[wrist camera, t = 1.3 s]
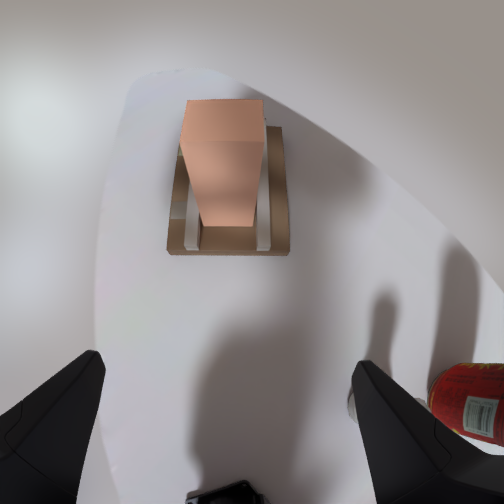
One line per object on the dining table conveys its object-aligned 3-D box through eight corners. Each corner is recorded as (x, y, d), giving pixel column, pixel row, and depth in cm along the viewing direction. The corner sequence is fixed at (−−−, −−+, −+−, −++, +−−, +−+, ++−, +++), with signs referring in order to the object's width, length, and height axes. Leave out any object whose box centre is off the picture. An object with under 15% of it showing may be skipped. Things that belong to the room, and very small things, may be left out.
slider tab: (252, 226, 23) (264, 141, 12) (203, 226, 23) (179, 142, 12) (252, 194, 24) (262, 99, 13) (205, 193, 24) (187, 100, 13)
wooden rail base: (286, 255, 24) (292, 246, 22) (170, 255, 24) (162, 245, 21) (279, 136, 28) (282, 119, 25) (184, 135, 27) (180, 119, 25)
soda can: (425, 437, 19) (507, 467, 8) (417, 381, 21) (512, 393, 10) (469, 405, 20) (549, 415, 9) (462, 351, 22) (550, 344, 10)
